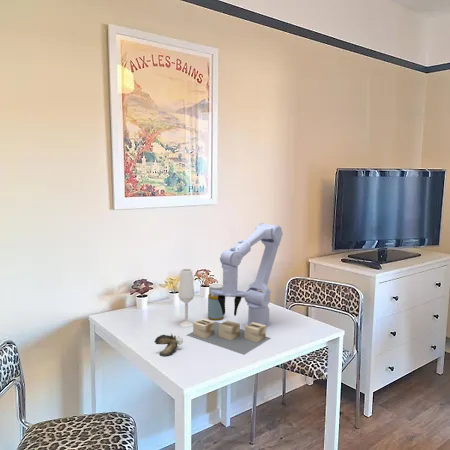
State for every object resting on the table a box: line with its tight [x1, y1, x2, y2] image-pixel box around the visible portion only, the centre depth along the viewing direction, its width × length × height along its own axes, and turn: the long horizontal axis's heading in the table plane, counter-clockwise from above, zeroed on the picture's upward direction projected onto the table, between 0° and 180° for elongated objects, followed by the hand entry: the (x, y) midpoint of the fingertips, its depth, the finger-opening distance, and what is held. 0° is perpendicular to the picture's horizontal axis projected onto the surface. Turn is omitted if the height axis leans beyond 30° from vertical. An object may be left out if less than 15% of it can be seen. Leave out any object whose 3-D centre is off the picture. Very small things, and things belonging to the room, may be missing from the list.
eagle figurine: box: [154, 333, 184, 357], centre depth 153 cm, size 8×7×9 cm
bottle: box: [207, 283, 225, 321], centre depth 186 cm, size 7×7×15 cm
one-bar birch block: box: [244, 322, 267, 342], centre depth 165 cm, size 6×6×5 cm
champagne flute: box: [178, 268, 195, 328], centre depth 178 cm, size 7×7×24 cm
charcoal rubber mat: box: [186, 321, 272, 355], centre depth 166 cm, size 19×28×1 cm
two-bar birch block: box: [192, 318, 215, 339], centre depth 168 cm, size 6×6×5 cm
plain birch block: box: [219, 319, 241, 340], centre depth 166 cm, size 6×6×5 cm
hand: (229, 314), depth 166 cm, fingers open, 4 cm apart
